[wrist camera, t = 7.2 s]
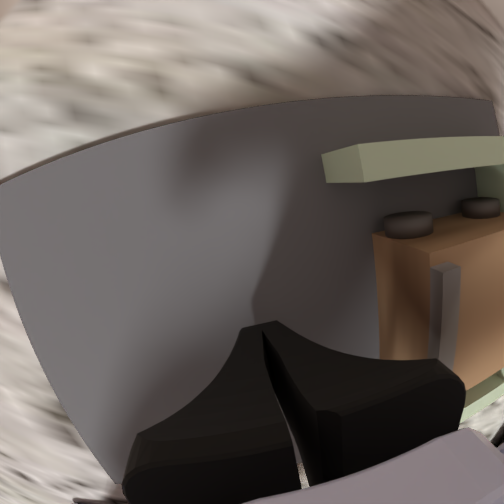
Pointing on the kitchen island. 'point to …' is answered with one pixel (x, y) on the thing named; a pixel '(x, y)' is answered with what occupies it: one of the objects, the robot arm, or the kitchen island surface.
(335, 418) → the robot arm
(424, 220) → the block
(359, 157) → the sage bay
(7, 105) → the kitchen island surface
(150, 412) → the rubber mat
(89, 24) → the kitchen island surface
